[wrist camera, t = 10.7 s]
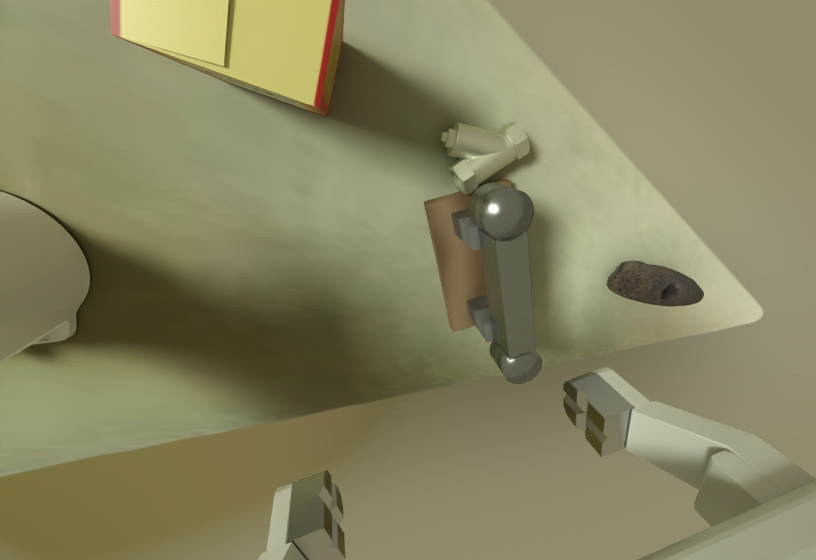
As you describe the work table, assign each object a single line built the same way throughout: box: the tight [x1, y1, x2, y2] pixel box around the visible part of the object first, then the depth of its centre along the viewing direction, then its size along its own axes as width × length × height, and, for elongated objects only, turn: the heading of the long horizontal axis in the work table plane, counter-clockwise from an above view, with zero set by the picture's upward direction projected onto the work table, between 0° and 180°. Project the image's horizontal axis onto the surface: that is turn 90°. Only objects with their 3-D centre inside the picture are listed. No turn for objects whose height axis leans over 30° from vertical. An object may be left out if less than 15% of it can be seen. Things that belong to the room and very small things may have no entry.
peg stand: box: [424, 179, 511, 342], centre depth 38 cm, size 10×18×8 cm, turn 14°
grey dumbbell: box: [468, 183, 542, 384], centre depth 33 cm, size 4×22×4 cm, turn 14°
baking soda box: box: [110, 0, 345, 117], centre depth 22 cm, size 10×6×16 cm
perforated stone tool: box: [607, 261, 704, 306], centre depth 45 cm, size 15×5×7 cm, turn 74°
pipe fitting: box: [440, 122, 530, 195], centre depth 34 cm, size 8×4×7 cm
